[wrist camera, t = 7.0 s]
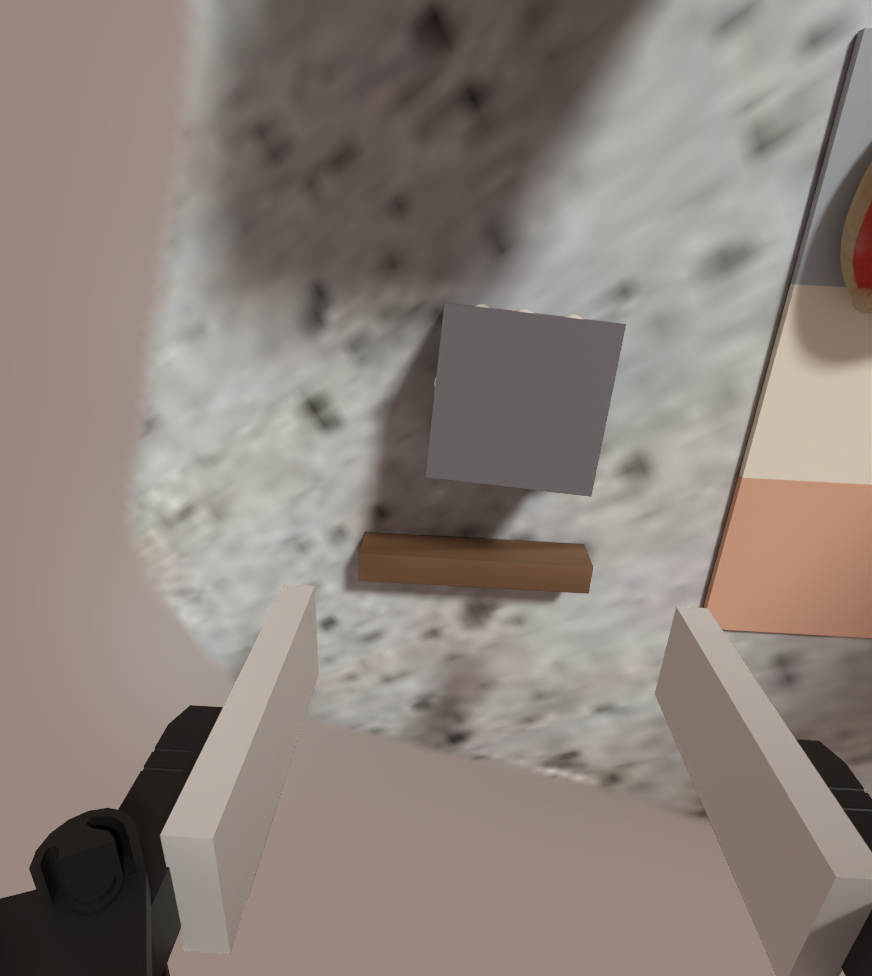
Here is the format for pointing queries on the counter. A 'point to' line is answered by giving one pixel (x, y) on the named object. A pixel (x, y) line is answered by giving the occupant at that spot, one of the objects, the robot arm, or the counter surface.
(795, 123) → the counter surface
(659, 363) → the counter surface
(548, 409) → the die
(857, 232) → the ladybug figurine
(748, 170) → the counter surface
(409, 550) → the brown bar
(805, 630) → the track
